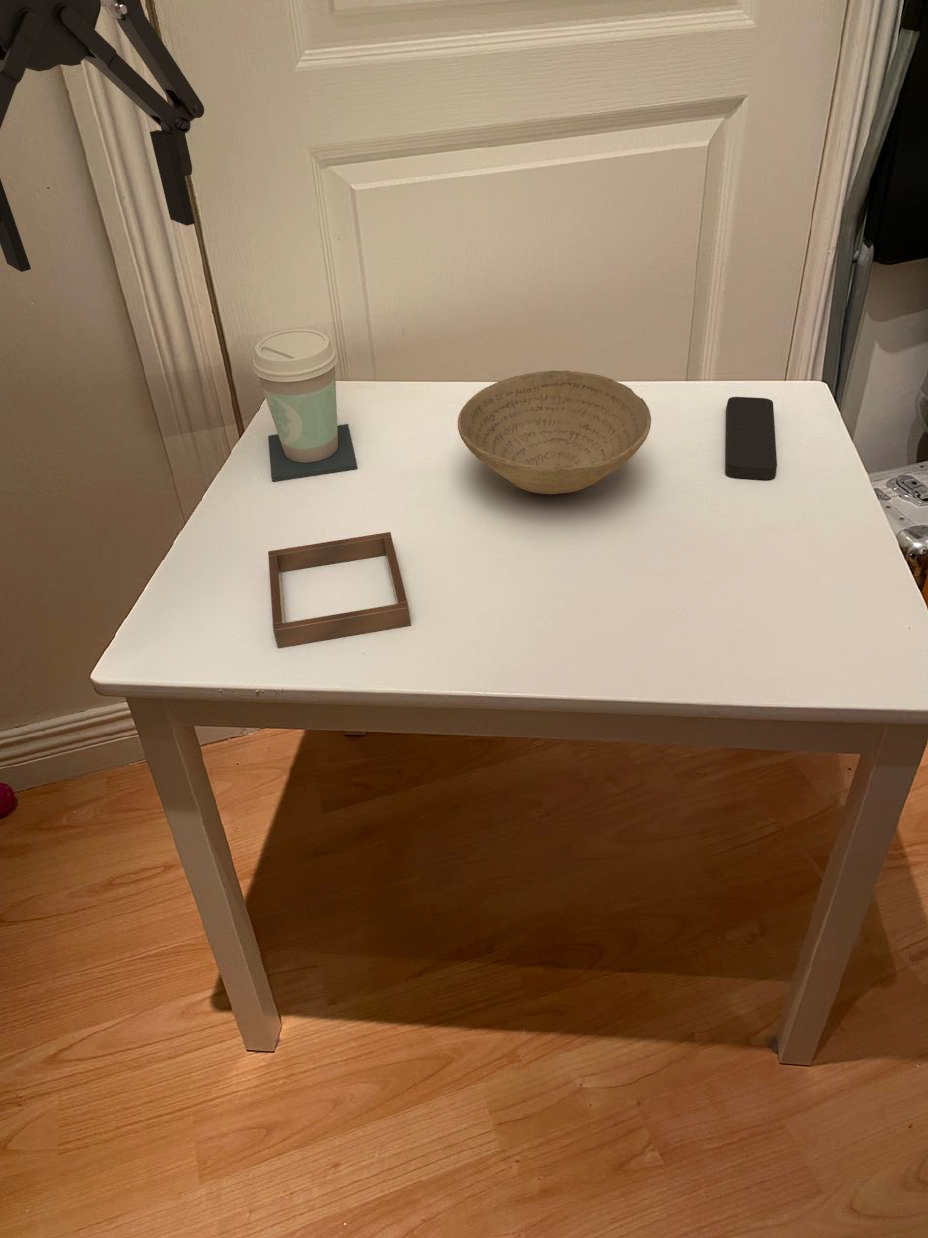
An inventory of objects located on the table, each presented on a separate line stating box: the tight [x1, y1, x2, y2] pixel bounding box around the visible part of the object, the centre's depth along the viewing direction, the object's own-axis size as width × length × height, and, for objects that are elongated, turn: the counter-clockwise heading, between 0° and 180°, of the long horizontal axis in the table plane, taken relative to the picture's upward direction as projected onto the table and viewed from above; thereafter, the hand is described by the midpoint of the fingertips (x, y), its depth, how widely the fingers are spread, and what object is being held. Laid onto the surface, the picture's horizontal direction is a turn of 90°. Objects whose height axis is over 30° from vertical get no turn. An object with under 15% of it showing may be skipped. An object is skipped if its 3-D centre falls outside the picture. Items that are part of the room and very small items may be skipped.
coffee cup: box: [252, 328, 338, 463], centre depth 98 cm, size 8×8×12 cm
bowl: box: [457, 370, 652, 495], centre depth 92 cm, size 18×18×8 cm
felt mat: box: [267, 423, 358, 482], centre depth 102 cm, size 9×9×1 cm
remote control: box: [724, 396, 778, 481], centre depth 98 cm, size 5×2×15 cm
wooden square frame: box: [267, 531, 412, 649], centre depth 82 cm, size 11×11×2 cm
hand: (104, 243), depth 73 cm, fingers open, 13 cm apart
